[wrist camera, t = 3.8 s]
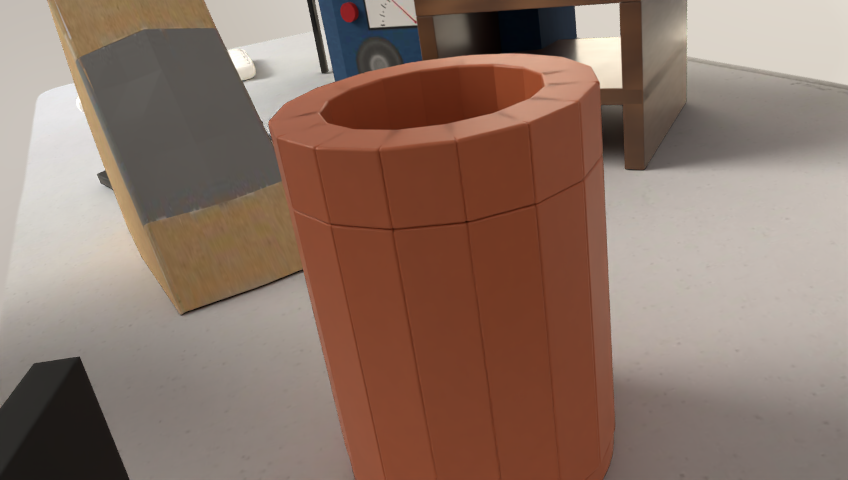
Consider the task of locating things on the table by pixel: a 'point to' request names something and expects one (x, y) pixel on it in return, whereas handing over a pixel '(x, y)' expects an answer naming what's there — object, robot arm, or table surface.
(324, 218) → the canister
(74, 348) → the table surface
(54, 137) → the table surface
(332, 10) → the radio
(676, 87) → the shelf
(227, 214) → the sandwich container
